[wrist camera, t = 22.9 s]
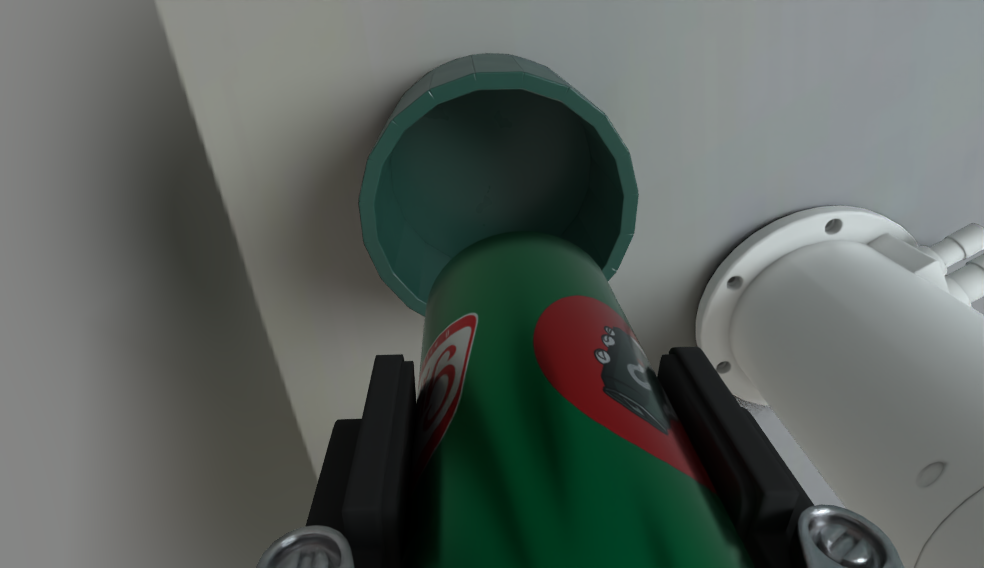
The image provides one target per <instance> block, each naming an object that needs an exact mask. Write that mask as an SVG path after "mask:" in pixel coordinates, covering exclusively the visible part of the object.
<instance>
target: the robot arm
mask: <svg viewBox="0 0 984 568" xmlns="http://www.w3.org/2000/svg"><path fill="white" fill-rule="evenodd" d="M983 249H984V228H983V227H981V226H980V225H978V224H975V223H971V224H969V225H967V226H966V227H964V228H962V229H960V230H958V231H956V232H955V233H953V234H951V235H949V236H947V237H946V238H944V240H943V241H941V242H939V243H937V244H935V245H933V246H932V247H930V248H929V247H927V246H919V245H918V243H917V242H916V240H915V239H914V237H913V236H911V235H910V234H909V233H908V232H907V231H906V230H905V229H904V228H903V227H902V226H900V225H899V224H897V223H895V222H893V221H892V220H890V219H888V218H886V217H884V216H883V215H880V214H878V213H875V212H872V211H870V210H867V209H864V208H858V207H851V206H844V205H842V206H822V207H817V208H812V209H808V210H803V211H799V212H796V213H793V214H791V215H788V216H786V217H783V218H781V219H778V220H776V221H774V222H772V223H770V224H769V225H767V226H765V227H764V228H762V229H760V230H759V231H757V232H755V233H754V234H752V235H751V236H750V237H749V238H747V239H746V240H745V241H744V242H742V243H741V244H740V245H739V246H738V247H736V248H735V249H734V250H733V251H732V252H731V253H730V255H729V256H728V257H727V258H726V259H725V260H724V261H723V262H722V263H721V264H720V266H719V267H718V269H717V270H716V272H715V273H714V275H713V276H712V278H711V279H710V281H709V282H708V284H707V286H706V289H705V291H704V293H703V296H702V298H701V300H700V303H699V307H698V312H697V317H696V342H697V346H698V347H675V348H671V349H670V351H669V354H665V355H662V357H661V360H660V365H659V371H658V377H657V378H658V380H659V382H660V384H661V386H662V388H663V390H664V392H665V394H666V396H667V397H668V399H669V401H670V403H671V405H672V407H673V409H674V411H675V413H676V415H677V417H678V419H679V421H680V423H681V425H682V426H683V428H684V430H685V432H686V434H687V436H688V438H689V440H690V442H691V444H692V446H693V448H694V450H695V452H696V453H697V455H698V457H699V459H700V461H701V463H702V465H703V467H704V469H705V471H706V473H707V475H708V477H709V479H710V481H711V482H712V484H713V486H714V488H715V490H716V492H717V494H718V496H719V498H720V500H721V502H722V504H723V506H724V508H725V510H726V511H727V513H728V515H729V517H730V519H731V521H732V523H733V525H734V527H735V529H736V531H737V533H738V535H739V537H740V539H741V540H742V542H743V544H744V546H745V548H746V550H747V552H748V554H749V556H750V558H751V560H752V562H753V564H754V566H755V568H984V315H983V314H981V313H980V312H978V311H976V310H975V309H973V308H972V305H971V302H973V301H975V300H977V299H979V298H981V297H983V296H984V254H982V255H980V256H978V257H976V258H974V259H973V260H971V261H969V262H967V263H966V266H964V267H962V268H960V269H958V270H956V271H954V272H953V273H951V274H949V275H946V274H947V269H946V268H947V267H948V266H950V265H952V264H954V263H956V262H958V261H960V260H964V259H966V258H968V257H970V256H972V255H974V254H976V253H978V252H979V251H981V250H983ZM732 394H733V395H735V396H737V397H739V398H741V399H743V400H745V401H748V402H752V403H755V404H759V405H764V406H770V408H771V409H772V410H773V412H774V413H775V414H776V416H777V417H778V418H779V420H780V421H781V422H782V424H783V425H784V426H785V428H786V429H787V430H788V432H789V433H790V434H791V436H792V437H793V438H794V440H795V441H796V442H797V444H798V445H799V446H800V448H801V449H802V450H803V452H804V453H805V454H806V456H807V457H808V458H809V460H810V461H811V462H812V464H813V465H814V466H815V468H816V469H817V470H818V472H819V473H820V474H821V476H822V477H823V478H824V480H825V481H826V482H827V484H828V485H829V486H830V488H831V489H832V490H833V492H834V493H835V494H836V496H837V497H838V498H839V500H840V501H841V502H842V504H843V505H844V506H845V508H846V509H845V508H841V507H838V506H834V505H816V506H814V504H813V503H812V501H811V500H810V499H809V497H808V496H807V494H806V493H805V491H804V490H803V488H802V487H801V485H800V484H799V483H798V481H797V480H796V478H795V477H794V475H793V474H792V472H791V471H790V470H789V468H788V467H787V465H786V464H785V462H784V461H783V459H782V458H781V457H780V455H779V454H778V452H777V451H776V449H775V448H774V446H773V445H772V444H771V442H770V441H769V439H768V438H767V436H766V435H765V433H764V432H763V431H762V429H761V428H760V426H759V425H758V423H757V422H756V420H755V419H754V418H753V416H752V415H751V413H750V412H749V411H748V410H747V409H745V408H743V407H741V406H740V405H739V403H738V402H737V401H736V399H735V398H734V396H733V395H732ZM415 414H416V391H415V376H414V364H413V361H404V357H403V354H401V355H376V357H375V361H374V366H373V371H372V375H371V380H370V384H369V389H368V393H367V398H366V402H365V407H364V412H363V416H362V419H341V420H337V421H336V422H335V424H334V427H333V430H332V434H331V438H330V441H329V445H328V448H327V452H326V455H325V459H324V463H323V466H322V470H321V473H320V477H319V480H318V484H317V487H316V491H315V495H314V498H313V502H312V505H311V509H310V512H309V517H308V520H307V523H306V527H301V528H298V529H296V530H293V531H291V532H288V533H286V534H285V535H283V536H282V537H280V538H279V539H277V540H276V541H274V542H273V543H272V545H270V547H269V548H268V549H267V550H266V551H265V552H264V553H263V555H262V557H261V558H260V560H259V562H258V564H257V566H256V568H401V558H402V548H403V538H404V527H405V517H406V507H407V497H408V486H409V476H410V466H411V455H412V445H413V435H414V425H415Z"/></svg>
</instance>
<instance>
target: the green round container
mask: <svg viewBox="0 0 984 568" xmlns="http://www.w3.org/2000/svg"><path fill="white" fill-rule="evenodd" d="M638 195H639V194H638V188H637V183H636V179H635V175H634V170H633V166H632V161H631V157H630V153H629V150H628V149H627V147H626V145H625V144H624V142H623V141H622V139H621V138H620V136H619V134H618V133H617V131H616V130H615V128H614V127H613V125H612V123H611V122H610V120H609V119H608V117H607V116H606V115H605V113H603V112H602V111H601V110H600V109H599V108H598V107H596V106H595V105H594V104H593V103H592V102H590V101H589V100H588V99H587V98H586V97H584V96H583V95H582V94H581V93H580V92H578V91H577V90H576V89H575V88H574V87H572V86H571V85H570V84H568V83H567V82H566V81H565V80H563V79H562V78H561V77H560V76H558V75H557V74H556V73H554V72H553V71H552V70H550V69H549V68H548V67H546V66H544V65H541V64H538V63H536V62H534V61H531V60H528V59H525V58H521V57H518V56H514V55H509V54H490V53H486V54H477V55H469V56H466V57H462V58H459V59H455V60H453V61H450V62H448V63H446V64H443V65H441V66H439V67H437V68H435V69H433V70H432V71H431V72H429V73H427V74H426V75H425V76H424V77H422V78H421V79H420V80H419V81H417V82H416V83H415V84H414V85H413V86H412V87H411V88H410V89H409V90H407V91H406V93H405V94H404V95H403V96H402V98H401V100H400V101H399V103H398V105H397V106H396V108H395V109H394V111H393V113H392V114H391V116H390V118H389V119H388V121H387V122H386V124H385V126H384V128H383V130H382V132H381V134H380V136H379V138H378V139H377V141H376V143H375V145H374V147H373V149H372V151H371V153H370V155H369V157H368V159H367V163H366V167H365V172H364V177H363V181H362V186H361V190H360V195H359V202H358V203H359V211H360V219H361V227H362V235H363V242H364V245H365V247H366V249H367V251H368V253H369V255H370V257H371V259H372V261H373V263H374V265H375V267H376V269H377V271H378V274H379V276H380V278H382V280H383V281H384V282H385V283H386V285H387V286H388V287H389V288H390V289H391V290H392V291H393V292H394V293H395V294H396V295H397V296H398V297H399V298H400V299H401V300H402V301H403V302H404V303H405V304H406V305H407V306H408V307H409V308H410V309H412V310H414V311H416V312H417V313H419V314H421V315H423V316H425V311H426V304H427V300H428V296H429V292H430V290H431V288H432V285H433V283H434V281H435V279H436V278H437V276H438V275H439V273H440V272H441V270H442V269H443V268H444V267H445V265H446V264H447V263H448V262H449V261H450V260H451V259H452V258H453V257H454V256H456V255H457V254H458V253H459V252H461V251H462V250H463V249H465V248H466V247H468V246H470V245H472V244H473V243H475V242H477V241H479V240H482V239H484V238H487V237H489V236H492V235H496V234H501V233H505V232H514V231H534V232H542V233H546V234H551V235H555V236H557V237H560V238H562V239H565V240H567V241H569V242H571V243H573V244H574V245H576V246H578V247H579V248H581V249H582V250H583V251H584V252H586V253H587V254H588V255H589V256H590V257H591V258H592V259H593V260H594V261H595V262H596V264H597V265H598V266H599V267H600V269H601V271H602V272H603V274H604V276H605V278H606V280H607V281H609V280H610V279H611V277H612V276H613V275H614V274H615V273H616V271H617V270H618V268H619V266H620V264H621V261H622V259H623V257H624V255H625V253H626V250H627V248H628V246H629V244H630V242H631V239H632V237H633V234H634V231H635V222H636V213H637V204H638Z"/></svg>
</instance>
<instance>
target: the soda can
mask: <svg viewBox="0 0 984 568" xmlns="http://www.w3.org/2000/svg"><path fill="white" fill-rule="evenodd" d="M401 568H755V566H754V564H753V562H752V560H751V558H750V556H749V554H748V552H747V550H746V548H745V546H744V544H743V542H742V540H741V539H740V537H739V535H738V533H737V531H736V529H735V527H734V525H733V523H732V521H731V519H730V517H729V515H728V513H727V511H726V510H725V508H724V506H723V504H722V502H721V500H720V498H719V496H718V494H717V492H716V490H715V488H714V486H713V484H712V482H711V481H710V479H709V477H708V475H707V473H706V471H705V469H704V467H703V465H702V463H701V461H700V459H699V457H698V455H697V453H696V452H695V450H694V448H693V446H692V444H691V442H690V440H689V438H688V436H687V434H686V432H685V430H684V428H683V426H682V425H681V423H680V421H679V419H678V417H677V415H676V413H675V411H674V409H673V407H672V405H671V403H670V401H669V399H668V397H667V396H666V394H665V392H664V390H663V388H662V386H661V384H660V382H659V380H658V378H657V376H656V374H655V372H654V370H653V368H652V367H651V365H650V363H649V361H648V359H647V357H646V355H645V353H644V351H643V349H642V347H641V345H640V343H639V341H638V339H637V338H636V336H635V334H634V332H633V330H632V328H631V326H630V324H629V322H628V320H627V318H626V316H625V314H624V312H623V310H622V309H621V307H620V305H619V303H618V301H617V299H616V297H615V295H614V293H613V291H612V289H611V287H610V285H609V283H608V281H607V280H606V278H605V276H604V274H603V272H602V271H601V269H600V267H599V266H598V265H597V264H596V262H595V261H594V260H593V259H592V258H591V257H590V256H589V255H588V254H587V253H586V252H584V251H583V250H582V249H581V248H579V247H578V246H576V245H574V244H573V243H571V242H569V241H567V240H565V239H562V238H560V237H557V236H555V235H551V234H546V233H542V232H534V231H514V232H505V233H501V234H496V235H492V236H489V237H487V238H484V239H482V240H479V241H477V242H475V243H473V244H472V245H470V246H468V247H466V248H465V249H463V250H462V251H461V252H459V253H458V254H457V255H456V256H454V257H453V258H452V259H451V260H450V261H449V262H448V263H447V264H446V265H445V267H444V268H443V269H442V270H441V272H440V273H439V275H438V276H437V278H436V279H435V281H434V283H433V285H432V288H431V290H430V292H429V296H428V300H427V304H426V311H425V322H424V332H423V342H422V353H421V363H420V373H419V383H418V394H417V404H416V414H415V425H414V435H413V445H412V455H411V466H410V476H409V486H408V497H407V507H406V517H405V527H404V538H403V548H402V558H401Z"/></svg>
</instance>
